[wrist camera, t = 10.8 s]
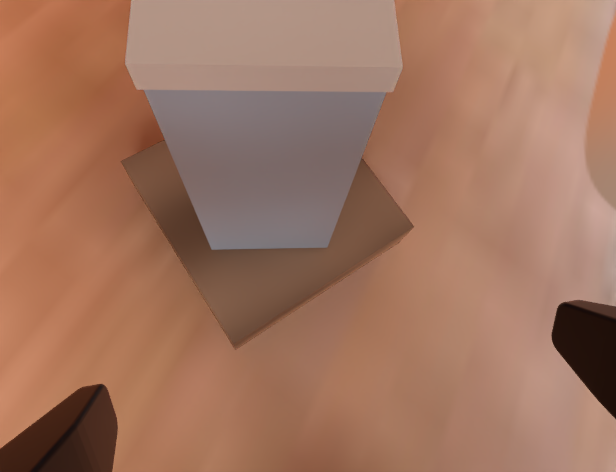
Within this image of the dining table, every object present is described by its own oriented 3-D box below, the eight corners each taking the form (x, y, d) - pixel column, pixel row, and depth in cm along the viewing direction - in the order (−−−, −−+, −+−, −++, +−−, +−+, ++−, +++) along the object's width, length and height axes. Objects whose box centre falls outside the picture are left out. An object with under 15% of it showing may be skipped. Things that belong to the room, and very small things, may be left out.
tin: (329, 249, 21) (403, 67, 9) (209, 251, 21) (125, 63, 9) (323, 144, 23) (378, -123, 11) (211, 144, 22) (145, -134, 11)
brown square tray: (396, 245, 25) (414, 226, 22) (235, 351, 22) (233, 344, 19) (293, 107, 27) (298, 74, 24) (135, 188, 24) (120, 161, 22)
